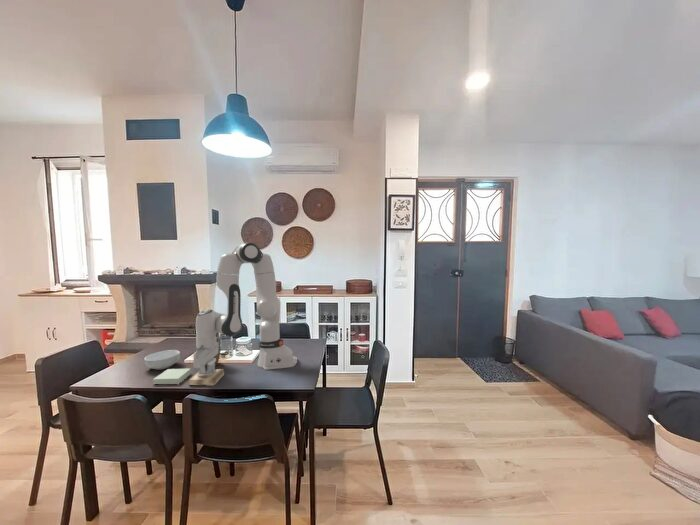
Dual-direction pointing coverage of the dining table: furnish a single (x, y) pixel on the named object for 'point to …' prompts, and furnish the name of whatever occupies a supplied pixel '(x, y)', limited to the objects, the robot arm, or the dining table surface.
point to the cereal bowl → (162, 359)
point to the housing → (208, 369)
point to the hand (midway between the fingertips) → (206, 369)
